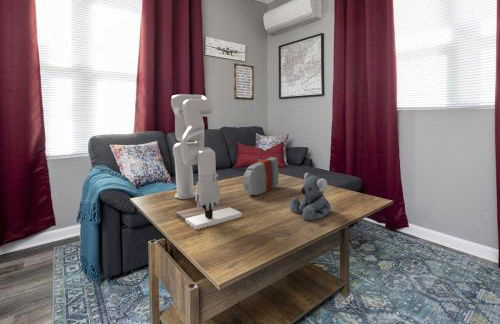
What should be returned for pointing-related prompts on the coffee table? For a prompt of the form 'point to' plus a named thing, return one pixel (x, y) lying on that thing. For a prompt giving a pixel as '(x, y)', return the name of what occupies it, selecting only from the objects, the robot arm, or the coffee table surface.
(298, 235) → the coffee table surface
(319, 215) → the koala plush
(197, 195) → the robot arm
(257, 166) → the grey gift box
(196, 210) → the walnut plank
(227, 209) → the off-white plank
